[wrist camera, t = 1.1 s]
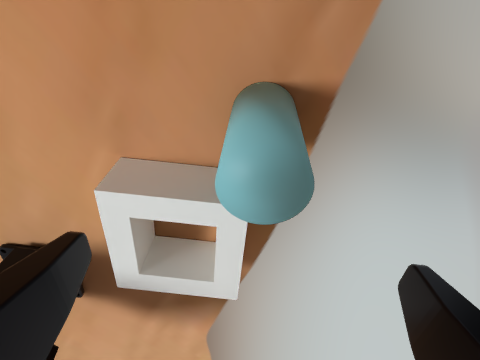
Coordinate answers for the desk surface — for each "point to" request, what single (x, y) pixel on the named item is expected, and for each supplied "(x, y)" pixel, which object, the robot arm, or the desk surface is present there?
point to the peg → (264, 158)
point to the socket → (167, 248)
